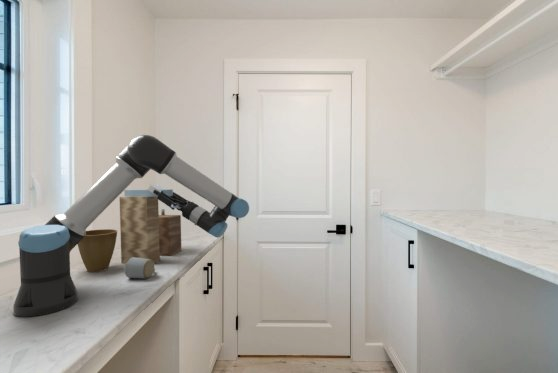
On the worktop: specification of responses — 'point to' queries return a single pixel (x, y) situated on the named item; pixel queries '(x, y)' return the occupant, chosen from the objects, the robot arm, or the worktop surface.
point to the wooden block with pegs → (169, 234)
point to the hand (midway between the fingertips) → (153, 187)
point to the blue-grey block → (145, 193)
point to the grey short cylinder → (139, 268)
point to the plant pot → (97, 249)
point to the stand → (139, 228)
